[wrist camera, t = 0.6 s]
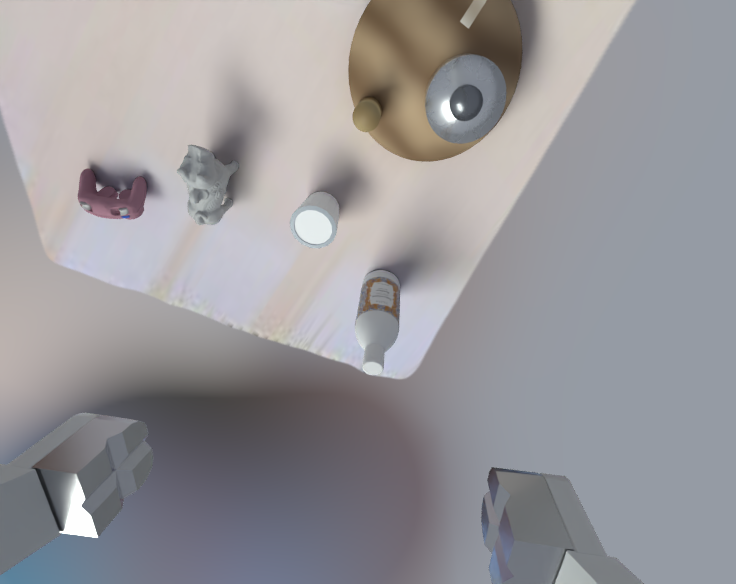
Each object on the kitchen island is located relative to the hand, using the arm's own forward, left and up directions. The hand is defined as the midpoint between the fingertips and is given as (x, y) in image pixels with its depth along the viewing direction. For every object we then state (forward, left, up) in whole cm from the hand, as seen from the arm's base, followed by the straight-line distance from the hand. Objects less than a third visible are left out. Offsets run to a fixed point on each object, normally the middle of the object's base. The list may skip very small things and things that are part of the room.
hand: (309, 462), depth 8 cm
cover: (-6, +7, -45) cm, 46 cm away
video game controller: (+34, -30, -48) cm, 66 cm away
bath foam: (+25, +15, -48) cm, 56 cm away
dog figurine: (+22, -17, -48) cm, 56 cm away
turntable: (-6, +2, -46) cm, 47 cm away
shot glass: (+18, -1, -48) cm, 52 cm away
